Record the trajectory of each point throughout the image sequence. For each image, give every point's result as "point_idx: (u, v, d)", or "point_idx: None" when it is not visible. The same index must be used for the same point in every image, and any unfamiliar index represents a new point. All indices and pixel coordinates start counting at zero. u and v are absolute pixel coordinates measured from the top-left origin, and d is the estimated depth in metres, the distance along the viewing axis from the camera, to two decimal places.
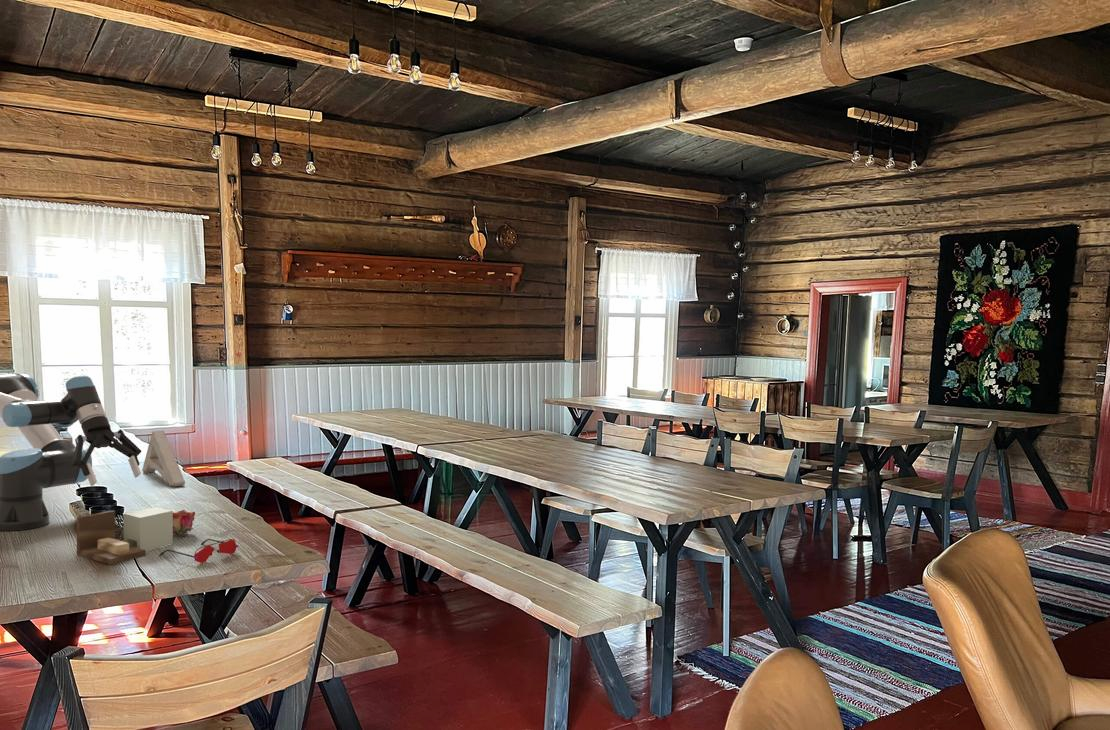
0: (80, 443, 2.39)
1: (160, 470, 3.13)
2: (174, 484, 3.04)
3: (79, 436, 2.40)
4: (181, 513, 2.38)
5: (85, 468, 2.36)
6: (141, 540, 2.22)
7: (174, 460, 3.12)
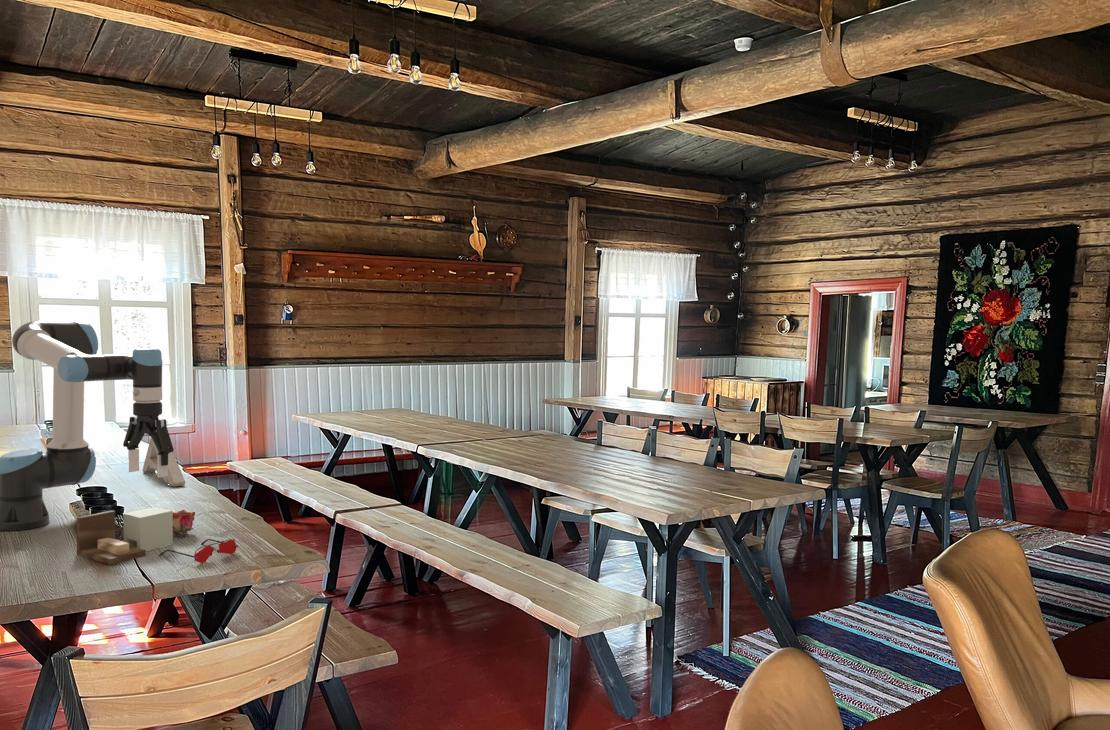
0: (129, 426, 2.29)
1: None
2: (174, 484, 3.03)
3: (130, 418, 2.28)
4: (181, 513, 2.38)
5: None
6: (141, 540, 2.22)
7: (174, 460, 3.12)
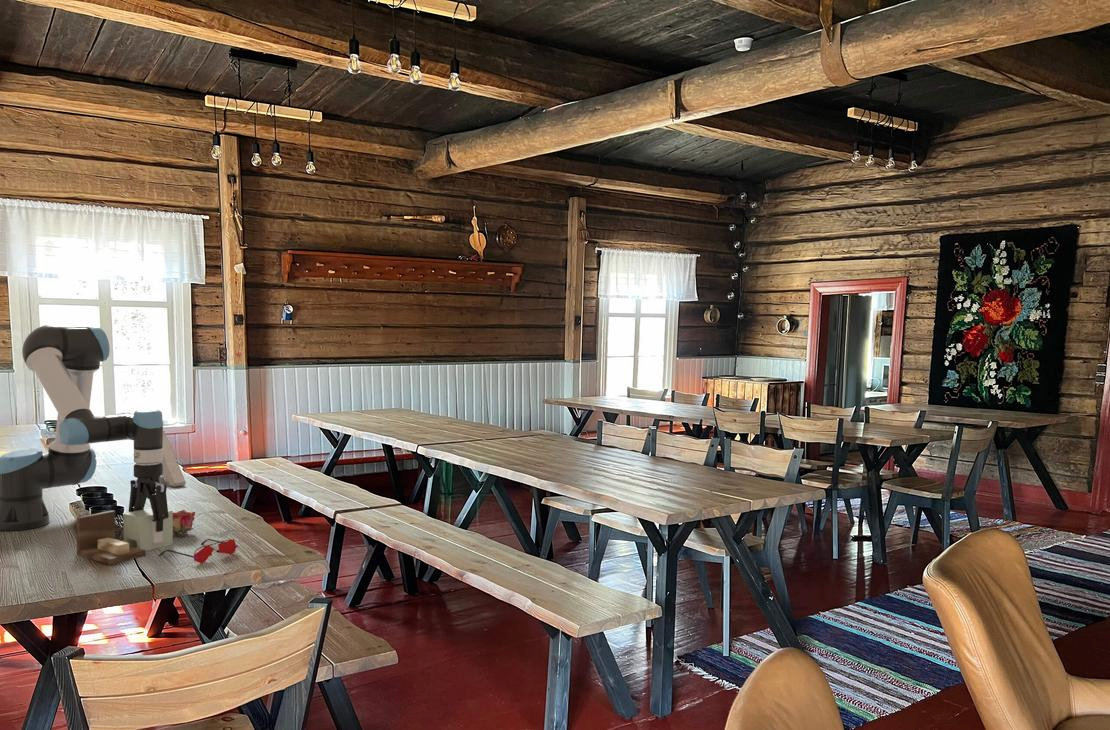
0: (131, 490, 2.29)
1: None
2: (175, 484, 3.03)
3: (130, 482, 2.29)
4: (181, 513, 2.38)
5: None
6: (141, 540, 2.22)
7: (175, 460, 3.12)
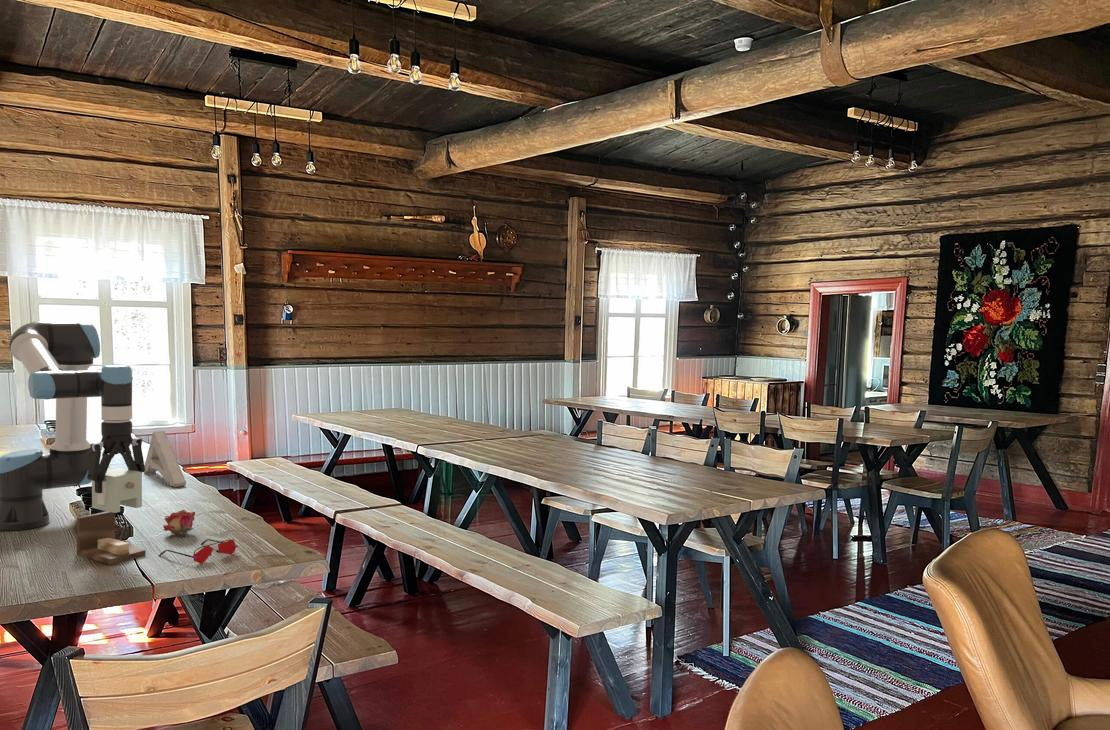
0: None
1: (161, 470, 3.12)
2: (175, 485, 3.03)
3: None
4: (181, 513, 2.38)
5: None
6: (92, 496, 2.17)
7: (175, 460, 3.11)
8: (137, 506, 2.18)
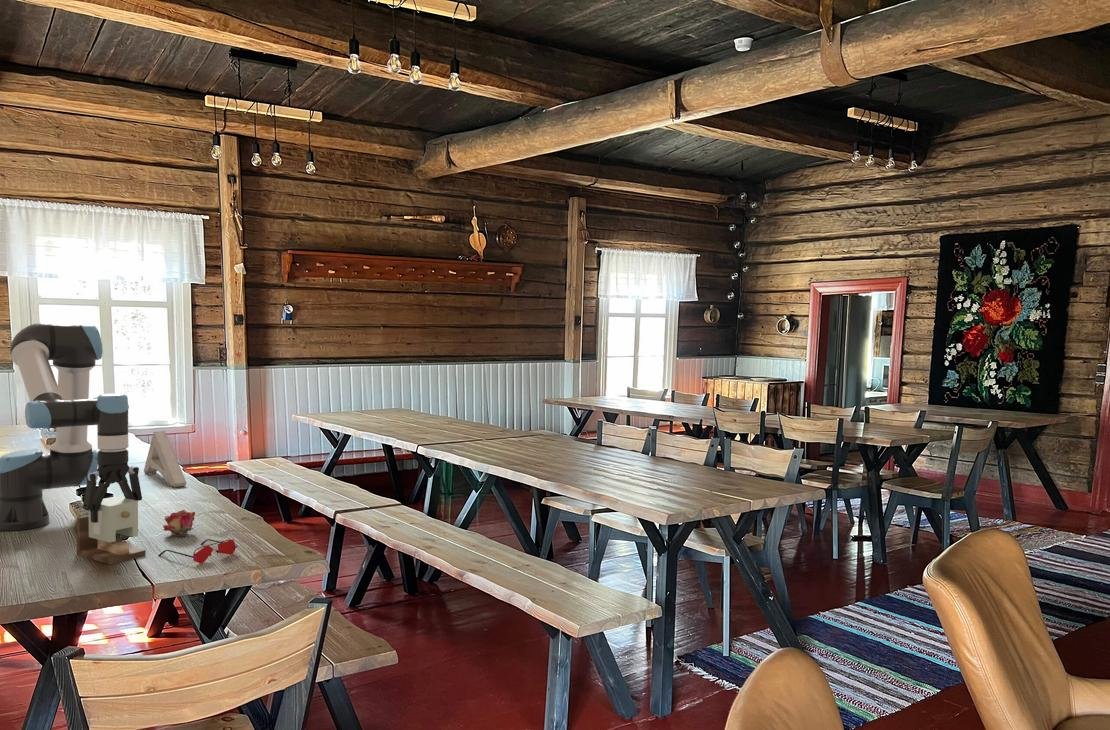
0: None
1: (161, 471, 3.12)
2: (175, 485, 3.02)
3: None
4: (181, 513, 2.38)
5: None
6: (89, 525, 2.16)
7: (175, 461, 3.11)
8: (133, 535, 2.17)
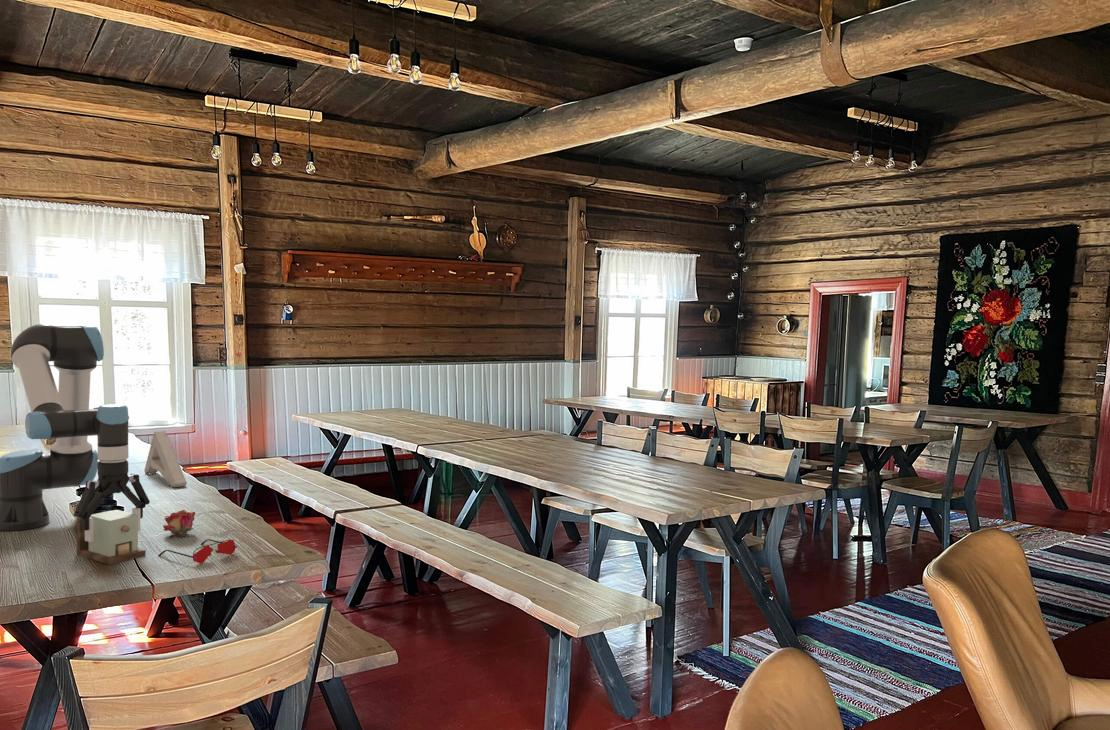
0: None
1: (162, 471, 3.12)
2: (176, 485, 3.02)
3: None
4: (181, 513, 2.38)
5: None
6: None
7: (176, 461, 3.11)
8: (133, 549, 2.18)
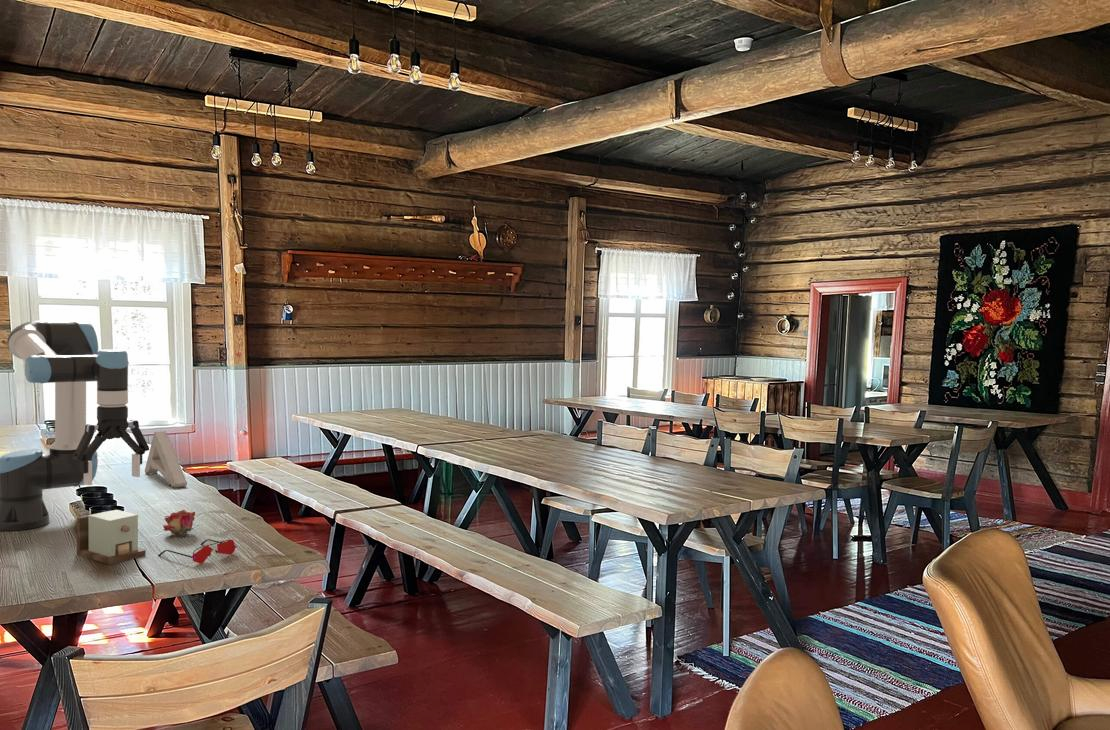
0: None
1: (162, 471, 3.12)
2: (176, 485, 3.02)
3: None
4: (181, 513, 2.38)
5: None
6: (89, 539, 2.16)
7: (176, 461, 3.11)
8: (133, 549, 2.18)
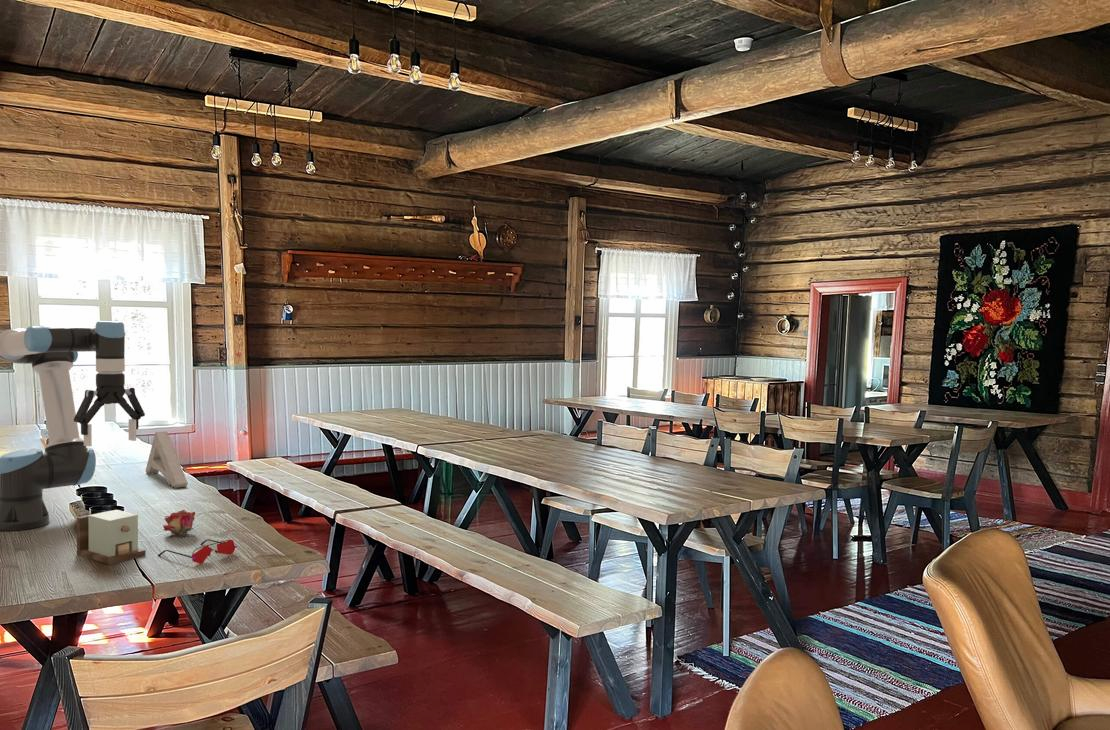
0: None
1: (163, 471, 3.11)
2: (176, 485, 3.02)
3: None
4: (181, 513, 2.38)
5: None
6: (89, 539, 2.16)
7: (177, 461, 3.10)
8: (133, 549, 2.18)
